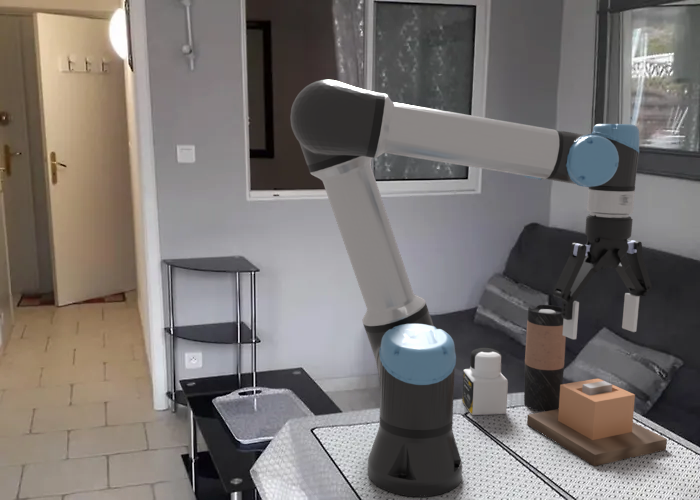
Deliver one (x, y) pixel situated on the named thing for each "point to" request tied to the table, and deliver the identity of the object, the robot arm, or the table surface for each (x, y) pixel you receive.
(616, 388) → the tan cube with window
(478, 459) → the table surface
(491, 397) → the medicine bottle
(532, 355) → the travel mug
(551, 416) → the stand
